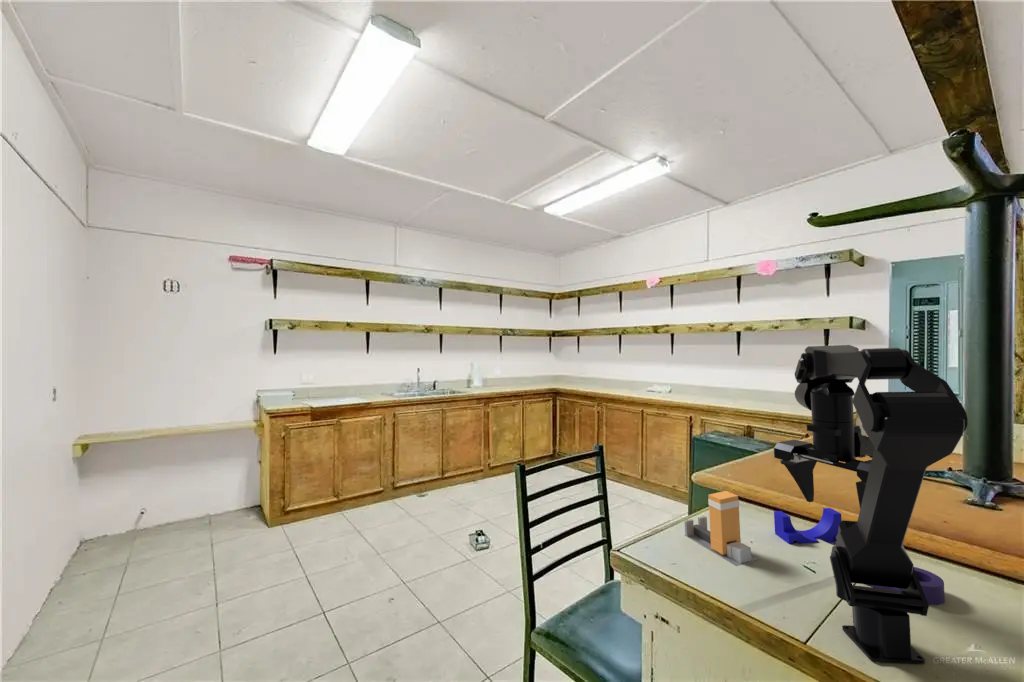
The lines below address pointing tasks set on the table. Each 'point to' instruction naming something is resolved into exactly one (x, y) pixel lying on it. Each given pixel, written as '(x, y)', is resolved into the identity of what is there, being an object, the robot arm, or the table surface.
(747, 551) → the grey pronged base
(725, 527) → the orange block
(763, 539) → the table surface
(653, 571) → the table surface
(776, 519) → the cable clip
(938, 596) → the lever
